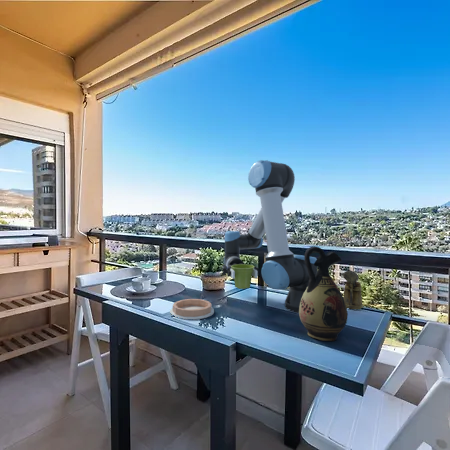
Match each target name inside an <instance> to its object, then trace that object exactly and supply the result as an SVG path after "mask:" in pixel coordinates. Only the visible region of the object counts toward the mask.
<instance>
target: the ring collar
mask: <svg viewBox="0 0 450 450" xmlns="http://www.w3.org/2000/svg"><path fill="white" fill-rule="evenodd" d="M170 313H171V314H172V315H174V316H176V317H179V318H178V319H180V318H183V319H182V320H188V319H193V320H202V319H206V318H209V317H211V316H212V315H214V313H215V309H214V307H212V302H210V301H208V300H206V299H201V298H188V299H187V298H186V299H185V298H184V299H181V300H178V301H175V302H174V303H173V305H172V308H171V309H170V310H169V314H170ZM171 314H170V315H171ZM172 315H171V316H172ZM176 317H175V318H176Z"/></svg>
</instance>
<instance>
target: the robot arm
mask: <svg viewBox="0 0 450 450" xmlns="http://www.w3.org/2000/svg"><path fill="white" fill-rule="evenodd" d="M247 179H248V180H247V181H248V184H249V185H250V186H251V187H252V188H254V189H255V195H256V196H257V197H259V199H260V205H261V208H260V210H259V211H258V213H257V215H256V217H255V219H254V221H253V223H252V224H251V226H250V228H249V230H248V232H247V234H241V232H240V231H237V230H227V231H225V233H224V258H223V264H222V275H223V276H224V275H226V277H228V278H231V279H234V278H235V271H234V270H232V268H231V266H232V265H238V264H245V263H244V261H243V260H242V259H241V258H240V256H241V250H251V249H252V250H253V249H260V248H261V247H262V246H263V243H264V239H263V236H264V234H265V239H266V240H265V241H266V246H267V252H268V253H267V254H266V255H265V257H264V258H265V262H264V263H263V264H262V267H261V268H260V267H258V266H255V265H253V266H254V268H253V272H252V276H253V278H255V279H257V278H258V275H261V277H262V280H263V281H264V283H265V285H267V286H268V288H271V289H273V290H285V289H287V288H289V289H288V292H287V294H286V298H285V300H284V307H285V309H287V310H289V311H291V312H294V313H299V306H300V302H301V298H302V296H303V294H304V292H305V290H306V289H307V287H308V284H309V280H310V277H309V273H308V270H307V267H306V263H305V259H304V256H305V255H301V254H294V253H293V252H292V251H291V250H290V248H289V241H288V240H289V239H288V234H287V228H286V221H285V215H284V208H283V202H284V200H285V199H287V198H289V197H290V194H291V192H292V191H293V189H294V185H295V180H296V178H295V173H294V170H293V169H292V168H291V166H289V165H287V164H286V163H281V162H280V163H279V162H275V161H271V160H268V159H267V160H263V159H260V160H257V161H255V162H254V163H253V164H252V165H251V167H250V169H249V172H248V177H247ZM317 259H318V258H317V257H315V256H310V263H311V266H312V269H313V272H314V274H315V276H316V274H317V271H318V269H319V267H318V266H315V265H314V263H315V261H316V260H317Z"/></svg>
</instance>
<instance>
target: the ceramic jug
mask: <svg viewBox="0 0 450 450" xmlns="http://www.w3.org/2000/svg"><path fill="white" fill-rule="evenodd" d="M316 253H317V254H319V257H318V258H316V259H317V260H316V261H315V263H314V265H315V266H318V270H317V274H316V276H315V274H314V272H313V269H312V266H311V263H310V257H311V255H312V254H316ZM303 256H304V259H305V263H306V267H307V270H308V273H309V277H310V280H309V284H308V287H307V289H306V290H305V292H304V294H303V296H302V298H301V302H300V306H299V312H298V315H299V320H300V322H301V323H302V325H303V326H304V328H305V329H306V331H307V336H308V337H310V338H313V339H315V340H316V339H317V340H319V341H323V342H335V341H337V339H338V336H339V335H340V333H341V332H342V331H343V329H344V328H345V326H346V325H347V323H348V316H349V314H348V309H347V308H346V304H345V301H344V298H343V297H344V295H343V294H342V292H341V290H340V289H339V287H338V285H337V283H336V282H335V281H334V280H333V278H332V276H331V275H330V271H329V268H330V267H331V266H333V265H335V264H337V263H341V262H342V258H341V257H340V256H339V255H338V253H336V252H334V251H328V252H327V253H325V251H324V249H323V248H320V247H318V246H309V248H307V249H306V250H305V253H304V255H303Z"/></svg>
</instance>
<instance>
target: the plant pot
mask: <svg viewBox="0 0 450 450" xmlns="http://www.w3.org/2000/svg"><path fill="white" fill-rule="evenodd" d="M254 266H255V265H253V264H245V263H244V264H238V265H232V266H231V268H232V270H234V271H235V278H233V280H234V281H233V282H234V287H235V288H237V289H239V290H246V289H250V288H251V284H252V283H251V282H252V276H253V275H252V272H253V268H254Z"/></svg>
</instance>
